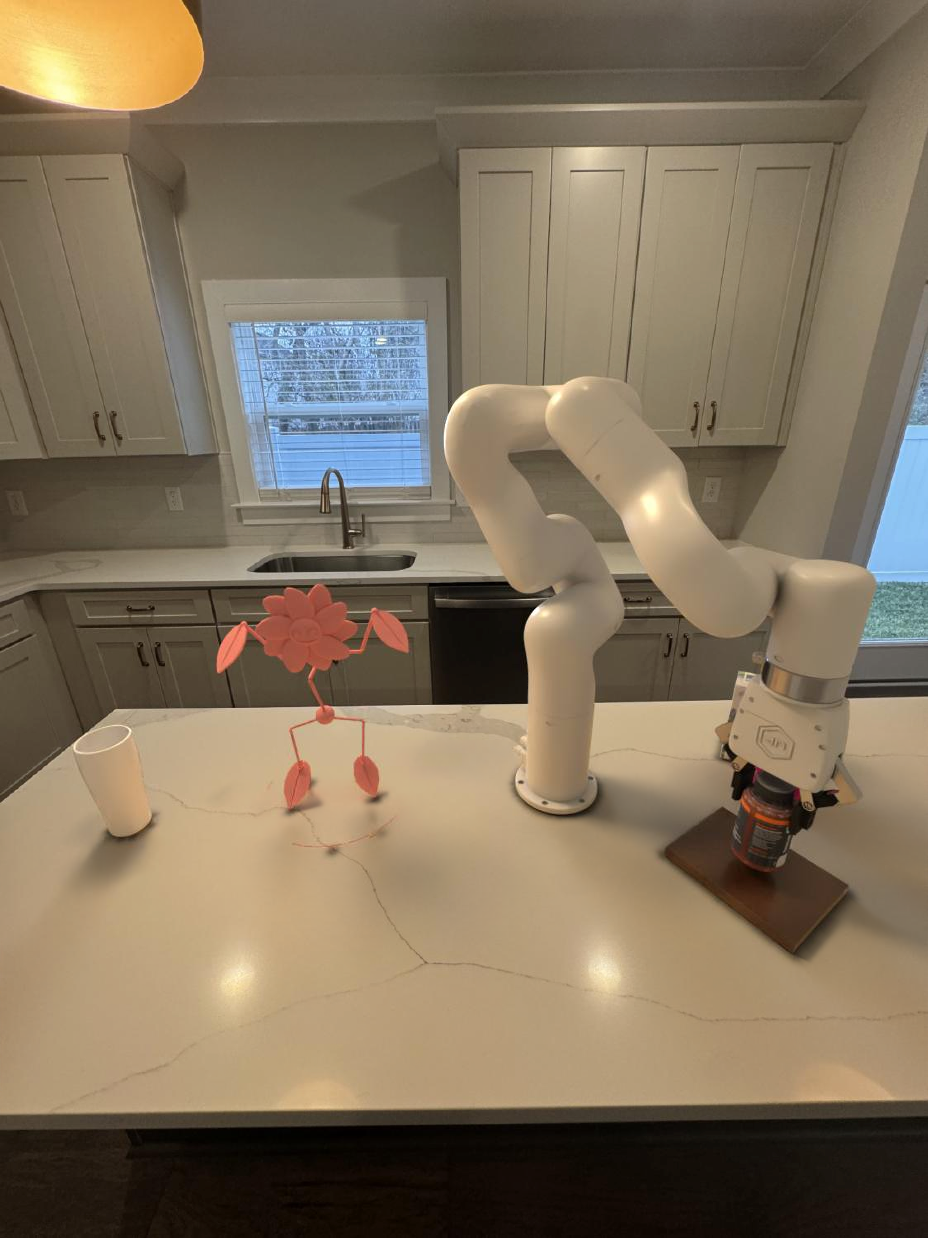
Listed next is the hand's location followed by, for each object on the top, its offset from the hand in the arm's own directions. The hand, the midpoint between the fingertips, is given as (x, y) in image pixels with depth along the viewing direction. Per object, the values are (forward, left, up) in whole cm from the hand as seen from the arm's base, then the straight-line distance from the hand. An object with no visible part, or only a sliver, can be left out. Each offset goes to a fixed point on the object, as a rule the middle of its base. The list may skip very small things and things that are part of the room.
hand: (768, 810), depth 60 cm
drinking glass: (-55, -65, -10) cm, 86 cm away
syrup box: (-14, +22, -10) cm, 28 cm away
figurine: (-41, -40, -10) cm, 58 cm away
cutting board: (0, 0, -10) cm, 10 cm away
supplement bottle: (0, 0, -7) cm, 7 cm away
